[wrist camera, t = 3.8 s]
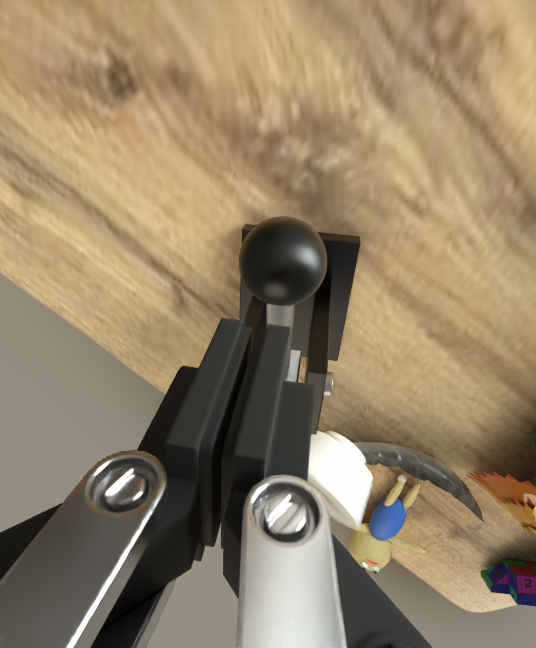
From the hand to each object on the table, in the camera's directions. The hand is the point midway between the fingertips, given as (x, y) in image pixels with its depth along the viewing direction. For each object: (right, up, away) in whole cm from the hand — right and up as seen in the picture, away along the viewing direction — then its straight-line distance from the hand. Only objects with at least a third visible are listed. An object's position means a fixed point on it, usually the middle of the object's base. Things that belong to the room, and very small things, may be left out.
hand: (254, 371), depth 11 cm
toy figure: (+13, -15, +28) cm, 34 cm away
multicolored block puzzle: (+28, -27, +33) cm, 51 cm away
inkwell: (+7, -16, +25) cm, 31 cm away
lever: (+1, +2, +10) cm, 10 cm away
